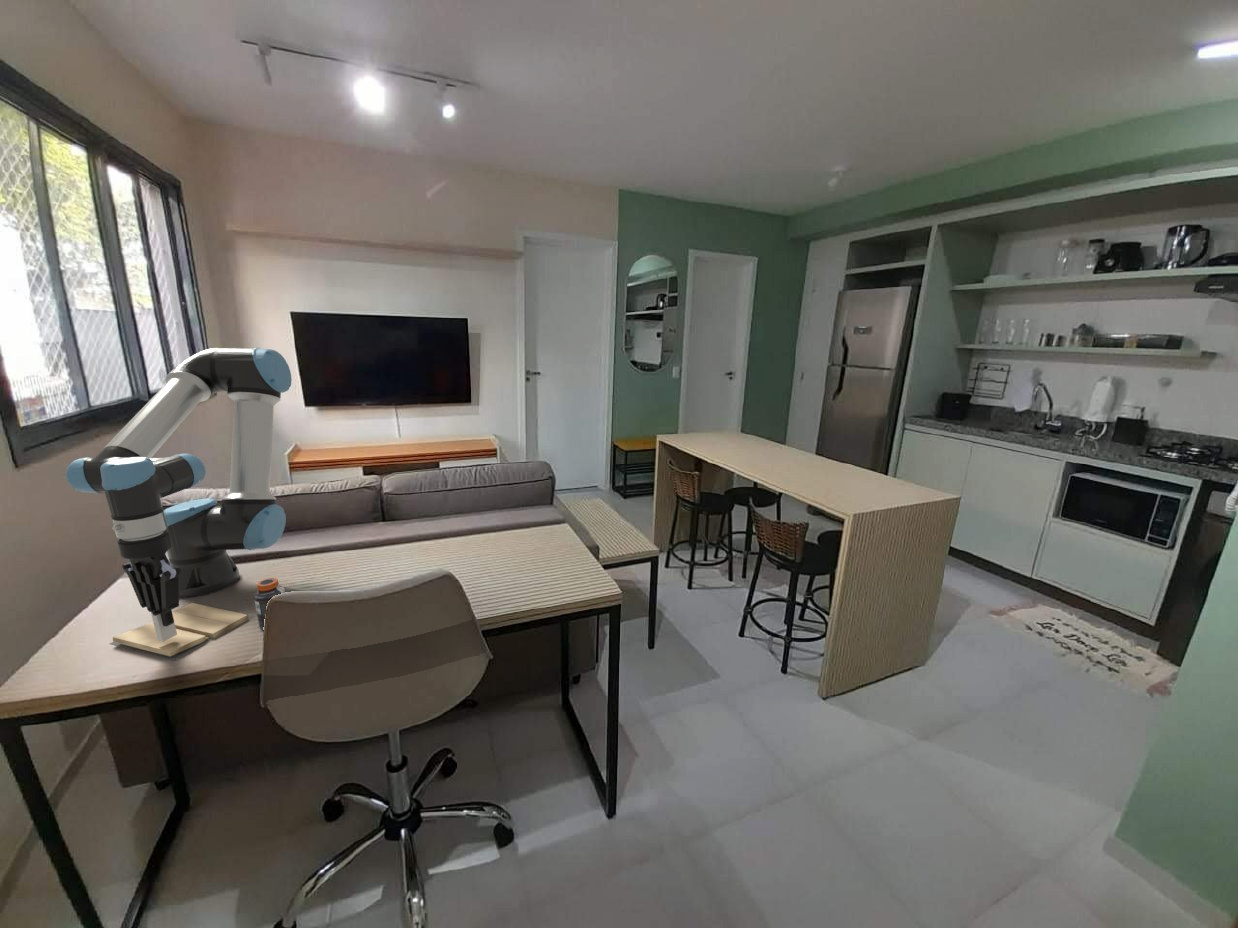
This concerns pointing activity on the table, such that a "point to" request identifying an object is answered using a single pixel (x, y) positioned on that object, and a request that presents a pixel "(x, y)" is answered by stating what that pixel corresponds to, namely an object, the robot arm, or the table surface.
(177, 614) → the floor board
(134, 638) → the board
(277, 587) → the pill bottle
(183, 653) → the underlay mat
